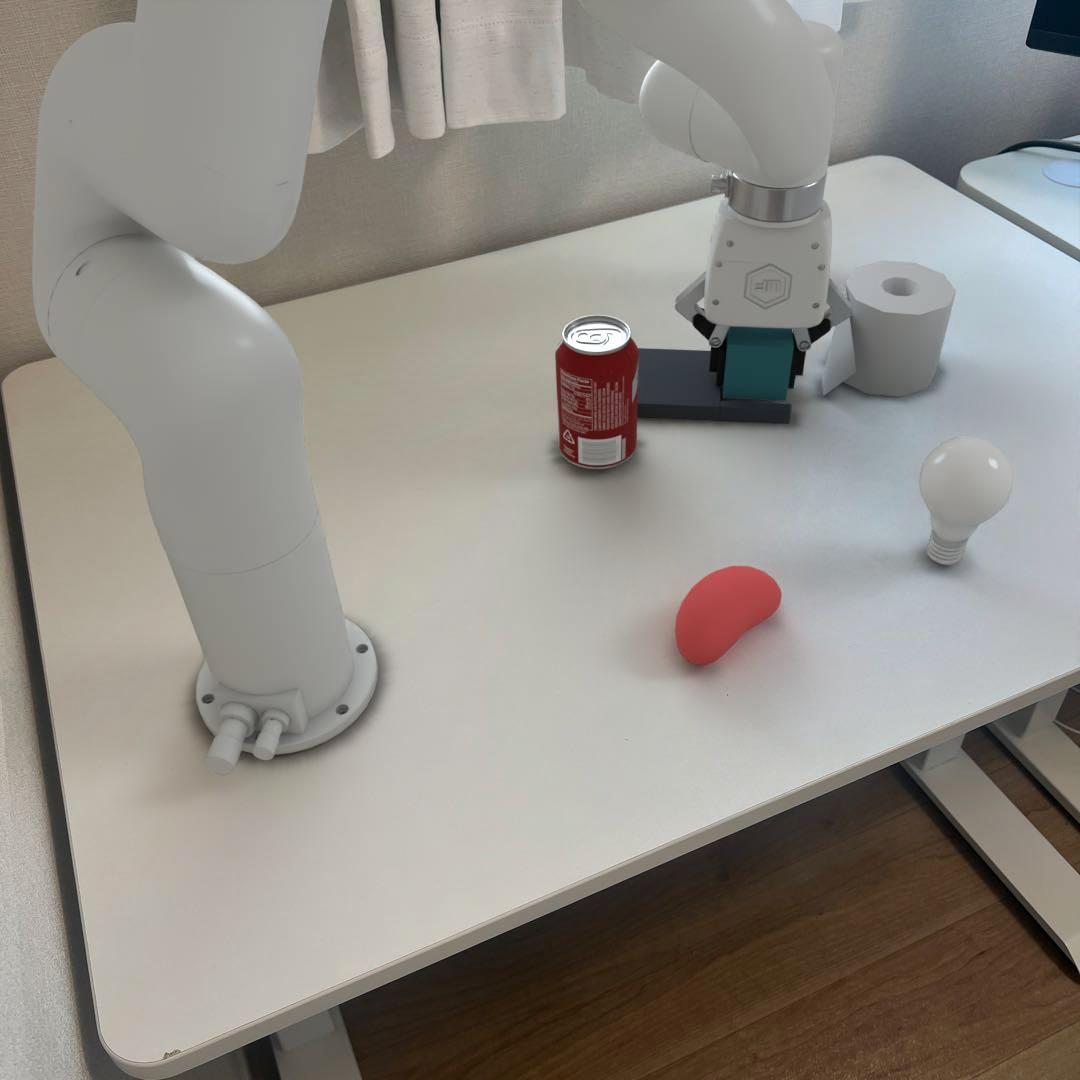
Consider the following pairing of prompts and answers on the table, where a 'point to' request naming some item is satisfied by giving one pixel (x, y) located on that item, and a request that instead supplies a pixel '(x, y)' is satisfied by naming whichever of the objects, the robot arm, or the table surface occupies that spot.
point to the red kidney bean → (723, 611)
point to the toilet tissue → (890, 329)
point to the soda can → (597, 392)
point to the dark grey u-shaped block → (693, 390)
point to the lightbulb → (962, 492)
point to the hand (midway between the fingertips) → (754, 377)
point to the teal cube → (758, 363)
